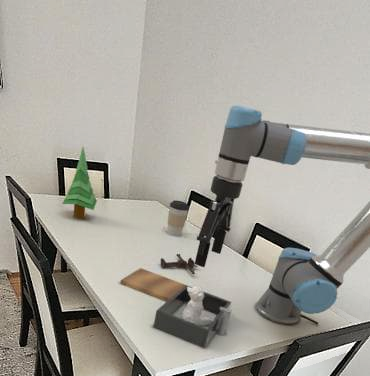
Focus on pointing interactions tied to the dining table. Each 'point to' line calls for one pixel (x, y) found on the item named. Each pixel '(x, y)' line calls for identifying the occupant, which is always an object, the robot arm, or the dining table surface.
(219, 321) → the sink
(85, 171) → the decorative tree
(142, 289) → the board
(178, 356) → the dining table surface
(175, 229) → the coffee cup
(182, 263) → the brown humanoid figurine
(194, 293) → the white creature statuette
